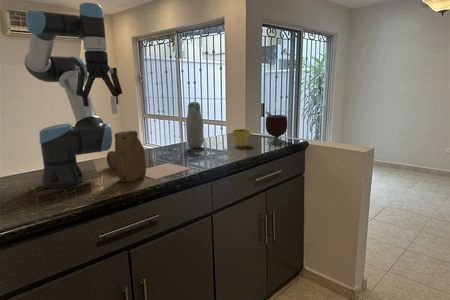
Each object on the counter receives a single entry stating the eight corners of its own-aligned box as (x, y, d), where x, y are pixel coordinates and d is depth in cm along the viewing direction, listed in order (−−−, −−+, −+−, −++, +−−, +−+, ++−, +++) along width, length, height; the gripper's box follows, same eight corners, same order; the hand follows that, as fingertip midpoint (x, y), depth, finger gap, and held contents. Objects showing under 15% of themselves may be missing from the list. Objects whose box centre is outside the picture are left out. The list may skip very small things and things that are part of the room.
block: (123, 184, 119) (117, 133, 115) (116, 179, 125) (111, 131, 120) (148, 178, 125) (144, 130, 121) (141, 174, 131) (137, 128, 127)
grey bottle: (184, 149, 183) (181, 102, 177) (192, 146, 192) (190, 101, 186) (199, 150, 179) (196, 102, 173) (206, 146, 188) (204, 101, 182)
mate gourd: (290, 141, 198) (291, 110, 194) (280, 144, 188) (281, 112, 184) (270, 139, 208) (270, 110, 204) (259, 142, 197) (259, 111, 193)
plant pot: (250, 147, 184) (250, 131, 182) (233, 147, 184) (232, 131, 182) (249, 144, 194) (248, 128, 192) (232, 144, 194) (232, 129, 192)
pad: (155, 179, 123) (155, 179, 123) (132, 172, 134) (132, 172, 134) (191, 168, 138) (191, 168, 138) (167, 163, 149) (167, 163, 149)
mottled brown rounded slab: (107, 167, 145) (105, 150, 144) (113, 166, 148) (111, 149, 146) (124, 172, 136) (122, 154, 134) (130, 170, 138) (128, 152, 136)
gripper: (68, 47, 97) (77, 117, 102) (128, 52, 113) (134, 112, 118) (59, 50, 102) (68, 116, 106) (118, 54, 118) (123, 111, 122)
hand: (102, 114), depth 112 cm, fingers open, 9 cm apart
